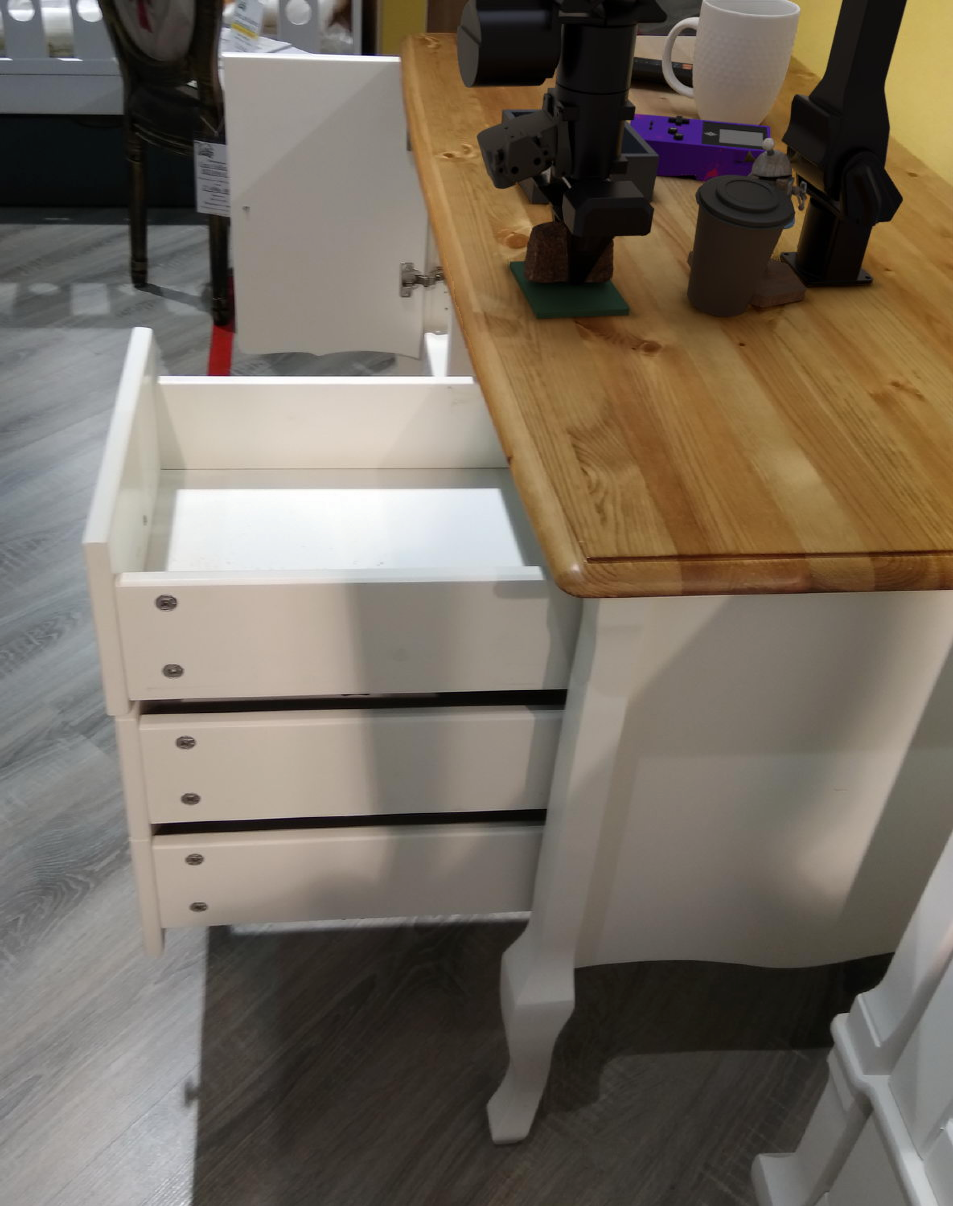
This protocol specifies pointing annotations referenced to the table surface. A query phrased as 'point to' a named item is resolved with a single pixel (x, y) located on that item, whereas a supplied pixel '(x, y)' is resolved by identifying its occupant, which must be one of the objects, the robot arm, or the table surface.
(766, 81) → the mug
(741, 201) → the coffee cup
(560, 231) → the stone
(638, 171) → the open box
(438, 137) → the table surface
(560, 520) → the table surface
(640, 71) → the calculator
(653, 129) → the handheld gaming console
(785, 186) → the robot figurine
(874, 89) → the robot arm
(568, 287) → the mat
